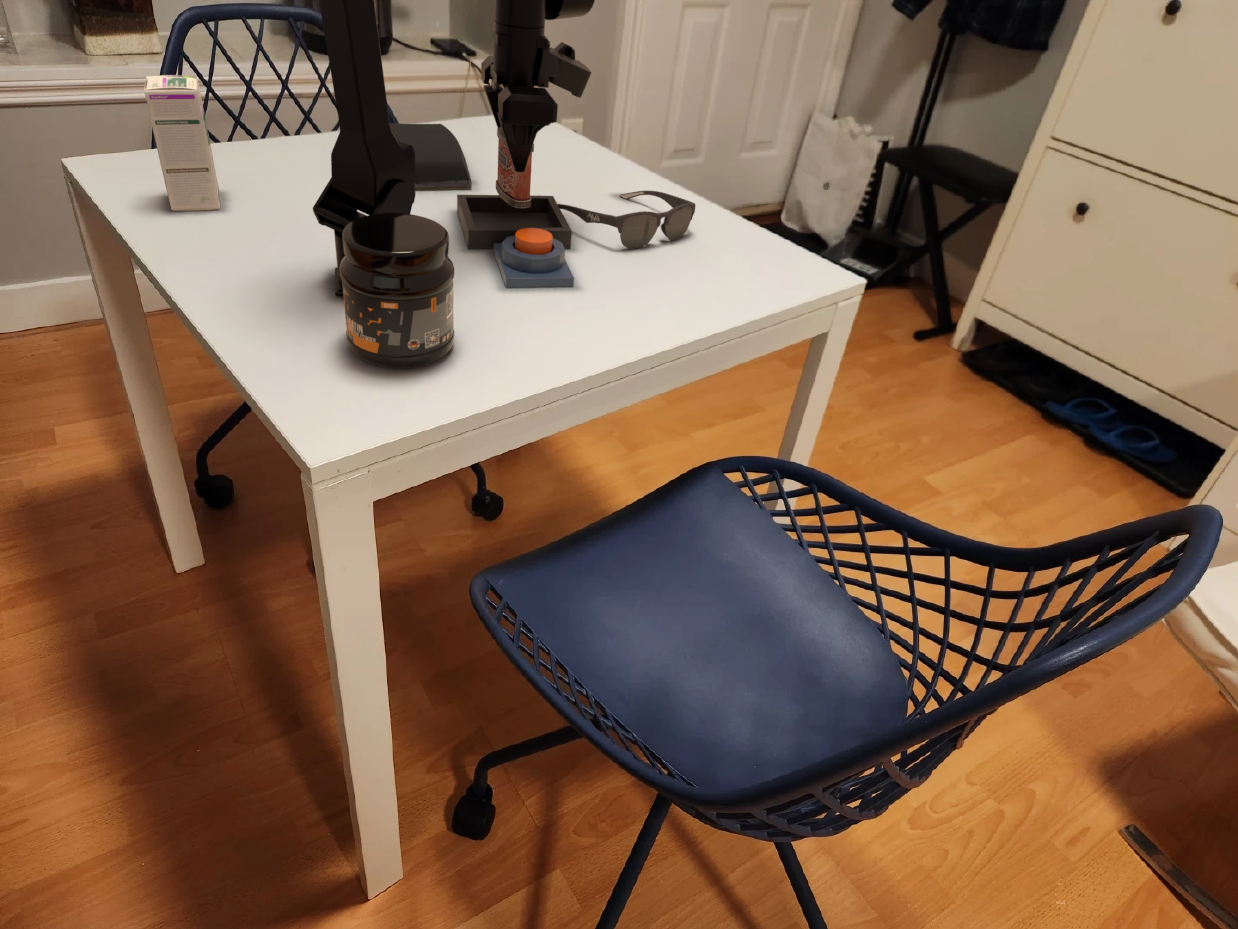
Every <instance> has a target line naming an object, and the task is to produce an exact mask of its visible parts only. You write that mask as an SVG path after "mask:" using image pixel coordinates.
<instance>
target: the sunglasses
mask: <svg viewBox="0 0 1238 929" xmlns="http://www.w3.org/2000/svg"><path fill="white" fill-rule="evenodd" d="M641 196H652V197H656V198H660V199H661V200H663V201H664V202H666V203H667V204H668V205H669V206H670V207H671V209H669V210H668V211H664V212H663V211H662V212H654V211H647V210H645V211H644V210H643V211H635V212H629V213H625V214H622V215H613V214H608V213H607V214H606V213H602V212H597V211H593V210H590V209H589V210H588V209H585V208H580V207H577V206H573V205H569V204H562V203H557V204H558V206H559V208H560V210H564V211H567V212H569V213H572V214H574V215H575V216H577V217H578V218H579V219H581V221H583V222H585V223H586V224H602V225H607V226H610V227H613V228H615V229H617V232H618V234H619V238H620V242H621V244H622V245H623V247H624V248H627V249H630V250H633V249H641V248H643V247H644V246H646V245H648V243H649V242H651V240H653V238H654V236H655V235H656V233H657V231H658V228H659V227H660V230H661V232H662V234H664V236H665V237H666V238H667V239H668V240H669V241H671V242H672V241H676V240H679V239H681V238H682V237H683V236H684V235H685V234H686V232H687V230H688V229H689V227H690V223H691V222H692V221H693V217H694V215H695V213H696V203H695V202H694V201H693V202H692V201H690V200H688V199H685V198H683V197H679V196H676V195H673V194H669V193H666V192H662V191H658V190H637V191H631V192H625V193H621V194H619V198H621V199H623V200H630V199H633V198H637V197H641ZM662 219H663V223H662Z"/></svg>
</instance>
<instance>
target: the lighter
mask: <svg viewBox="0 0 1238 929" xmlns="http://www.w3.org/2000/svg"><path fill="white" fill-rule="evenodd" d="M496 136H497V139H498V140H497V141H498V145H497V178H496V180H495V191H496V193H497V195H499V196H500V197H501V198H502V199H503V200H504V201H505V202H507V203H508V204H510V205H511V206H513V207H516V208H528V207H530V206H531V196H532V195H531V182H532V181H531V180H532V162H533V153H534V152H535V142H534V143H533V146H532V149H531V152H530V155H529V159H528V162H527V165H526V168H525V171H524V172H516V171H515V169H514V166H513V163H512V159H511V156H510V153H509V150H508V146H507V143H506V140H505V137H504V134H503V130H502V127H499V128H496Z"/></svg>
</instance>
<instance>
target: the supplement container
mask: <svg viewBox="0 0 1238 929" xmlns="http://www.w3.org/2000/svg"><path fill="white" fill-rule="evenodd" d="M342 237H343V248H344V254H345V256H344V258H343V259H342V261H341V263H340V276H341V279H342V285H343V296H342V297H343V306H344V317H345V327H346V329H345V338H346V342H347V345H348V347H349V348H350V350H351V351H352V353H354V354H355V355H356V356H357V357H358V358H359V359H362V360H363V361H365V362H368V363H370V364H372V365H376V366H379V367H383V368H390V369H411V368H418V367H422V366H426V365H429V364H432V363H434V362H436V361H438V360H440V359H442V358H443V357H444V356H445V355H446V354H448V353H449V351H450V350H451V349H452V347H453V345H454V342H455V328H454V279H455V275H456V274H455V266H454V263H453V262H452V260H451V259H450V258H449V255H450V237H449V233H448V231H447V228H446V227H444V225H442V224H441V223H439V222H437V221H436V220H433V219H431V218H428V217H425V216H421V215H416V214H412V213H410V214H402V213H382V214H374V215H368V214H367V216H364V217H361V218H358V219H356V220H354V221H352V222H350V223H349V224H348V225H347V226H346V227H345V228H344V230H343V233H342Z"/></svg>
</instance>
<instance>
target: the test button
mask: <svg viewBox="0 0 1238 929" xmlns="http://www.w3.org/2000/svg"><path fill="white" fill-rule="evenodd" d="M552 241H553V236H552V234H551V233H550V232H548V231H546V230H543V229H538V228H524V229H520V230H518V231H517V232H516V234H515V249H516V250H518V251H520V252H522V253H526V254H531V255H543V254H547V253H550V252H552Z"/></svg>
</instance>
